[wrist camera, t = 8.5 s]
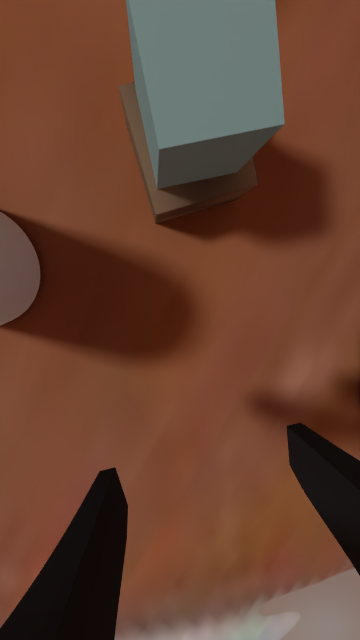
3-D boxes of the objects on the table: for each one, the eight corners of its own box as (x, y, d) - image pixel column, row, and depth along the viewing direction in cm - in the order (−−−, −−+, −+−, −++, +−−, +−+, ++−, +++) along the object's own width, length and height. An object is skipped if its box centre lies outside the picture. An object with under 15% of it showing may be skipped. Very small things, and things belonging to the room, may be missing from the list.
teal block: (223, 72, 12) (271, -52, 7) (236, 172, 13) (284, 123, 8) (135, 89, 12) (122, -27, 7) (157, 188, 13) (158, 149, 8)
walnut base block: (215, 103, 16) (235, 53, 12) (235, 200, 17) (258, 184, 13) (127, 128, 15) (118, 86, 12) (155, 224, 17) (156, 214, 13)
